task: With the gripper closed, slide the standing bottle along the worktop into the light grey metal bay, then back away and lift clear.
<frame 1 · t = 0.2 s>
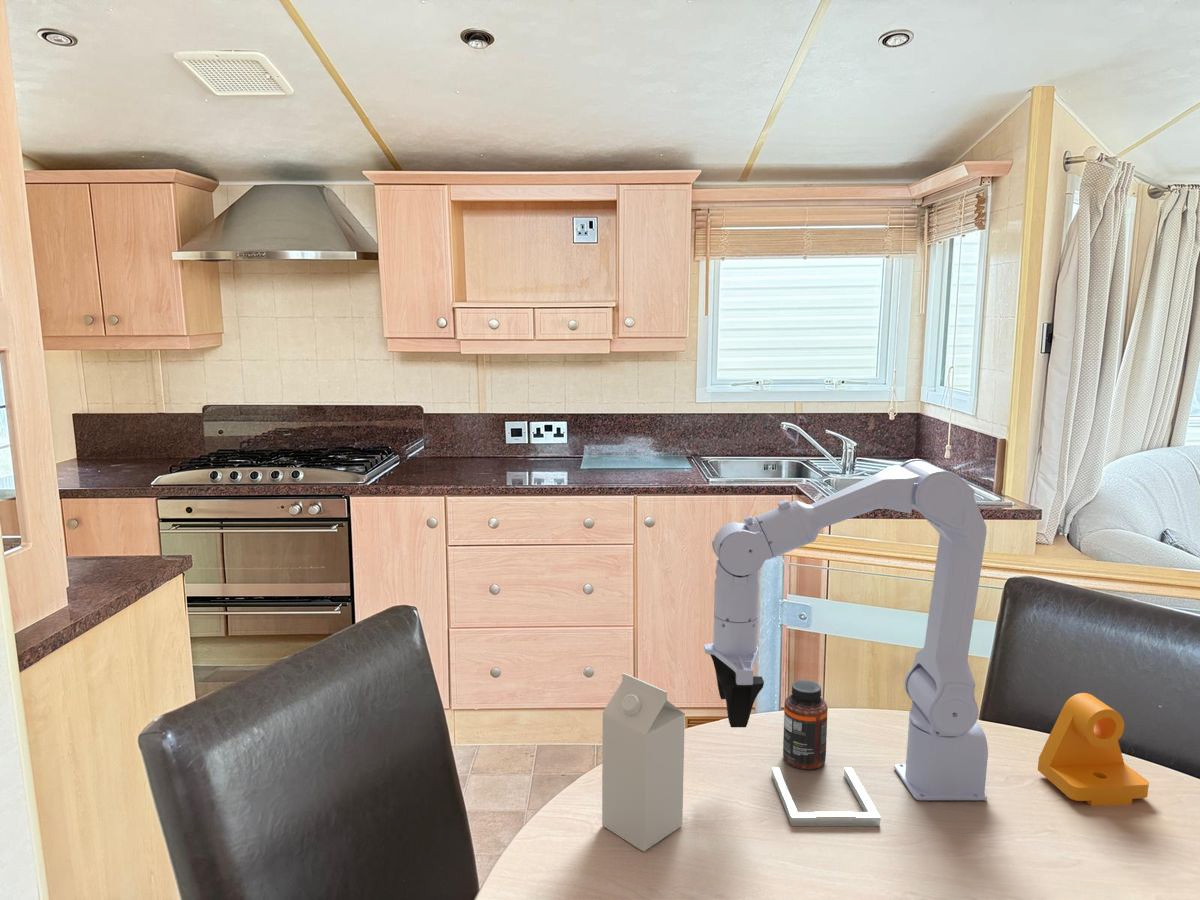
hand: (732, 711, 105), 10 cm above the table, tool pointing down, fingers open, 7 cm apart
bay: (821, 797, 103), on the table
bracket: (1091, 790, 106), on the table
supplement bottle: (803, 761, 112), on the table
milk carton: (642, 828, 97), on the table
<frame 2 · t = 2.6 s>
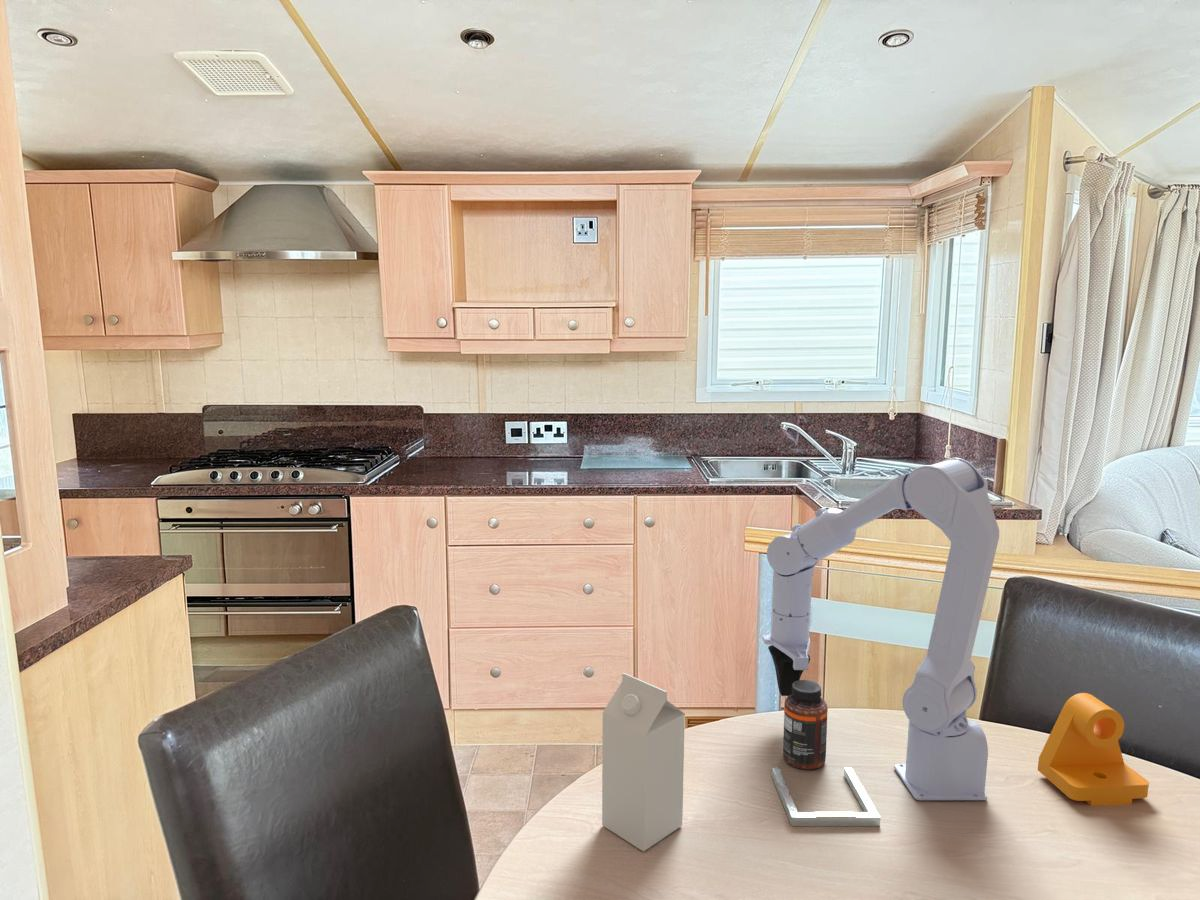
hand: (786, 693, 122), 5 cm above the table, tool pointing down, fingers closed
nothing on the table moved.
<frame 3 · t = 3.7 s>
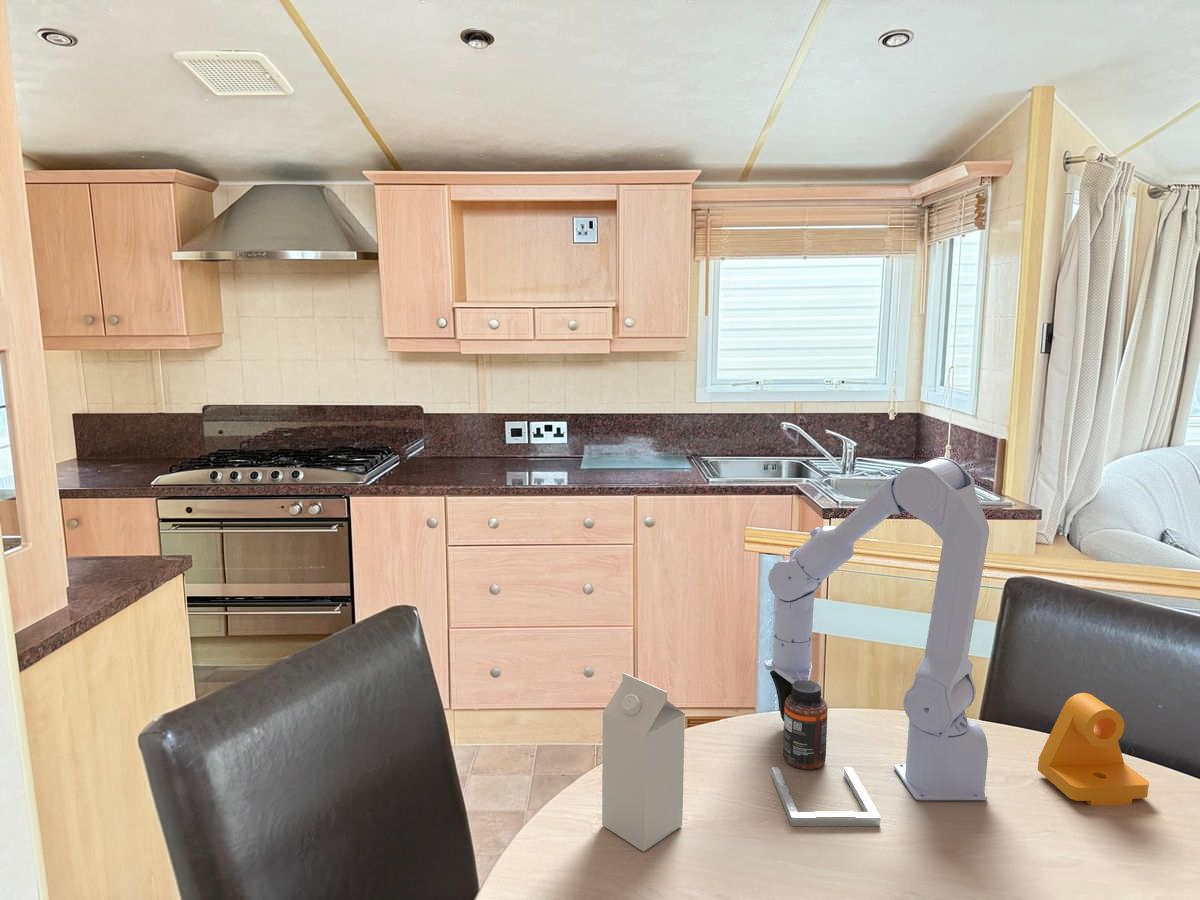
hand: (788, 719, 121), 1 cm above the table, tool pointing down, fingers closed
nothing on the table moved.
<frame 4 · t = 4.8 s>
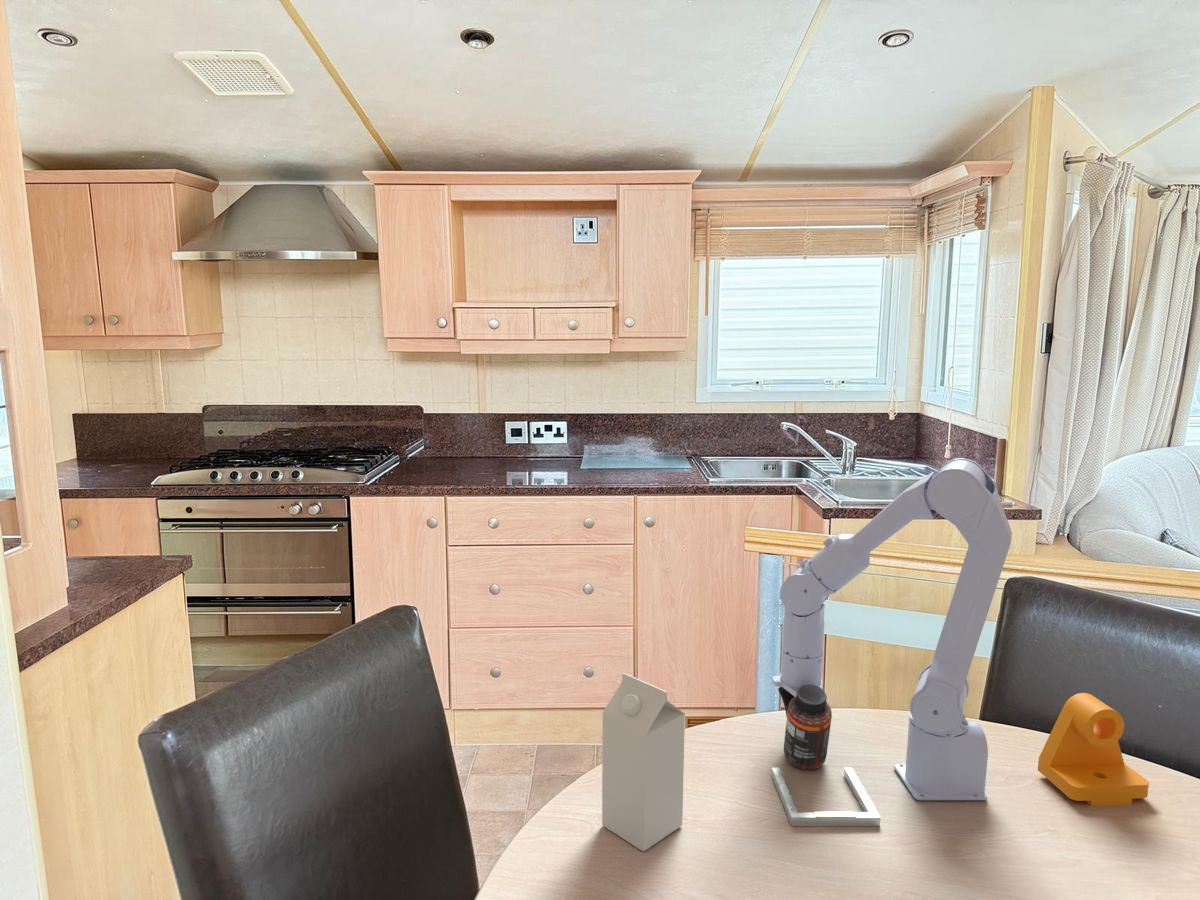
hand: (797, 738, 115), 1 cm above the table, tool pointing down, fingers closed, pressing on supplement bottle
supplement bottle: (803, 756, 112), point 1 cm above the table, touching gripper
everything else where it was.
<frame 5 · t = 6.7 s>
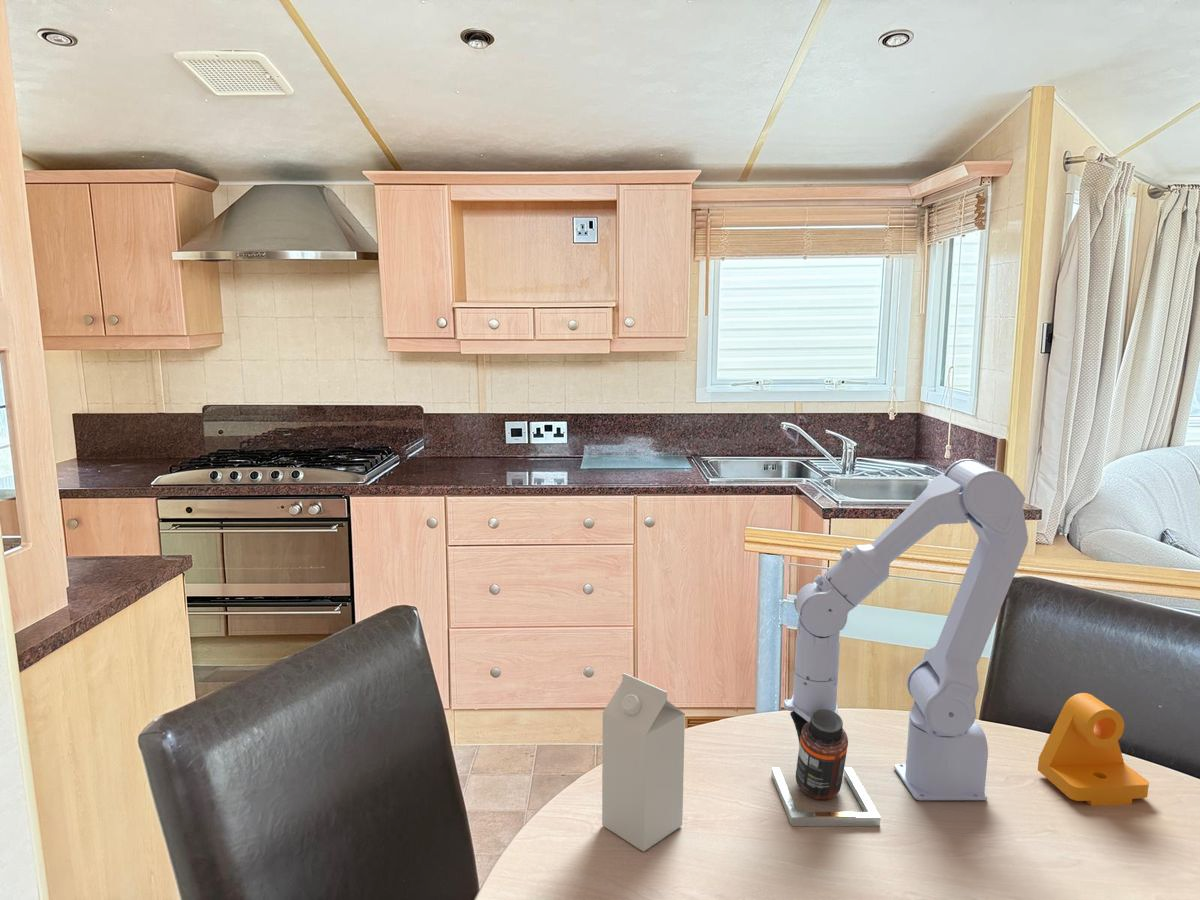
hand: (810, 765, 108), 1 cm above the table, tool pointing down, fingers closed
supplement bottle: (817, 784, 105), point 1 cm above the table, touching gripper
everything else where it was.
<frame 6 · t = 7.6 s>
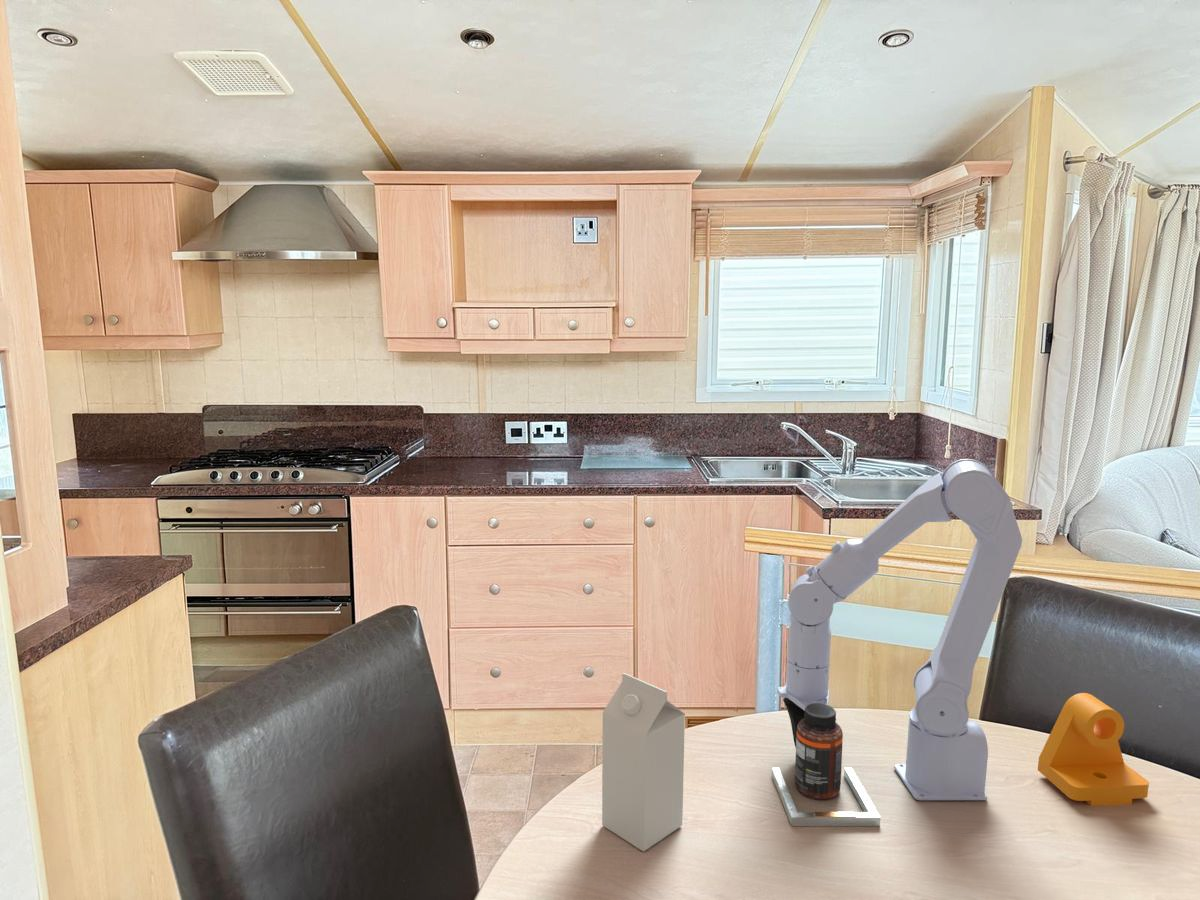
hand: (803, 750, 112), 1 cm above the table, tool pointing down, fingers closed
supplement bottle: (816, 789, 105), on the table
everything else where it was.
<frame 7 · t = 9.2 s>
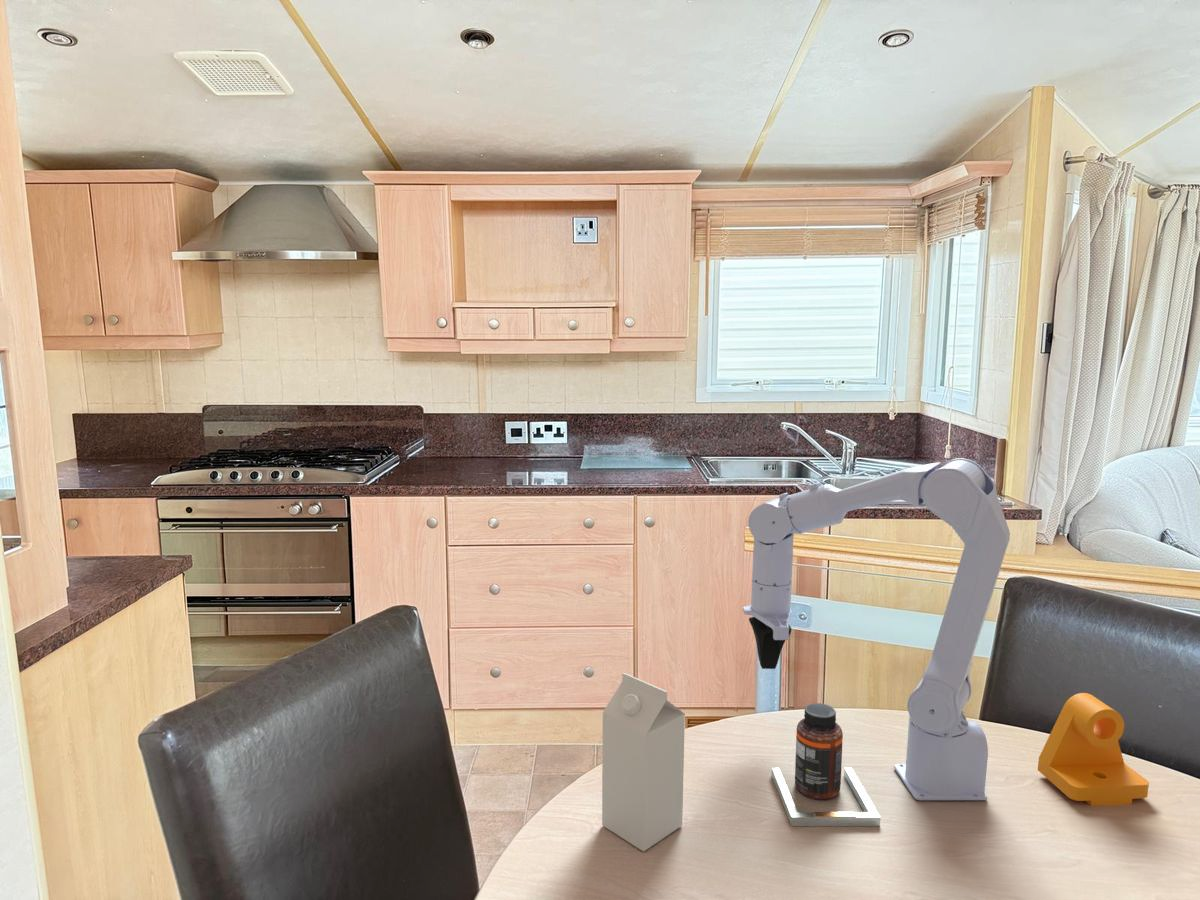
hand: (767, 666, 118), 11 cm above the table, tool pointing down, fingers closed
nothing on the table moved.
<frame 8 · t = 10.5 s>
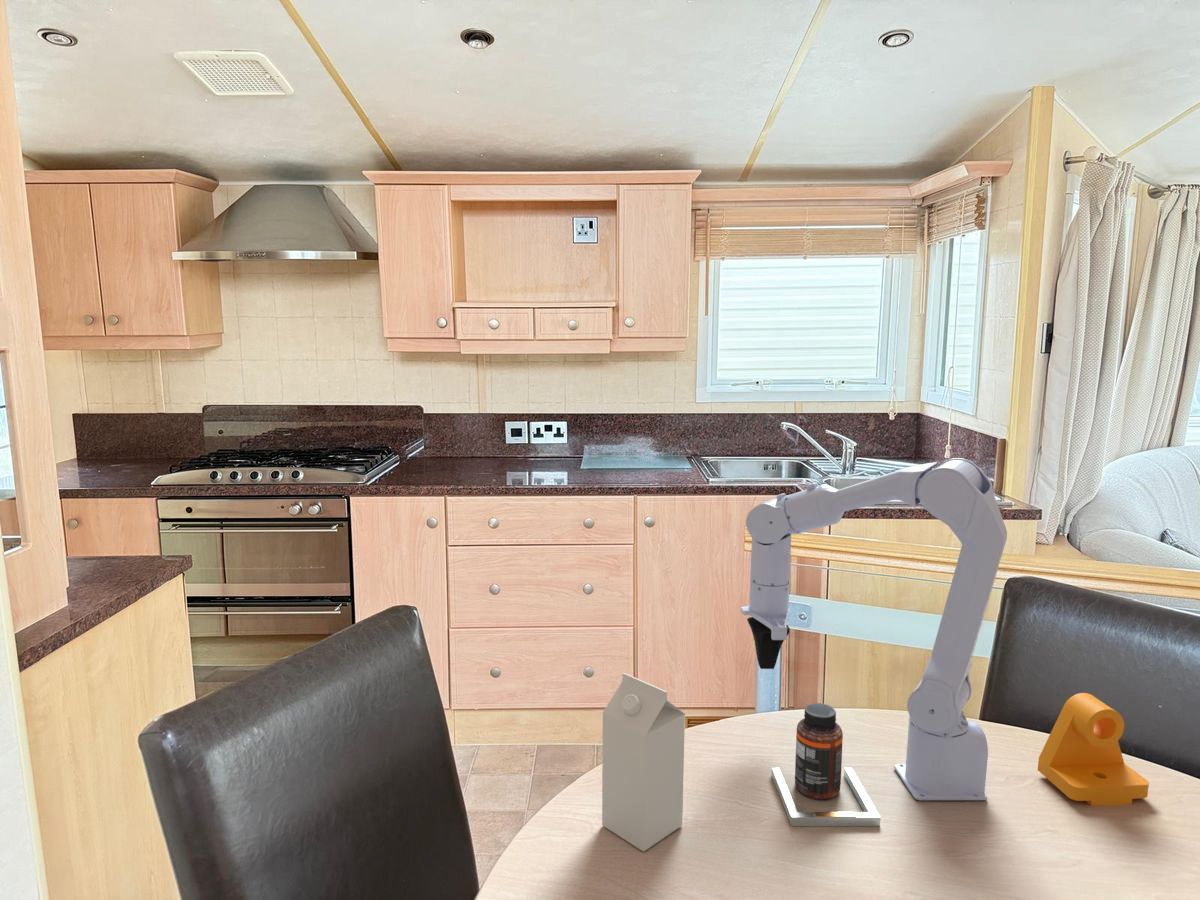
hand: (766, 667, 118), 10 cm above the table, tool pointing down, fingers closed
nothing on the table moved.
at the end: supplement bottle 2.0 cm off-centre on the bay, point 0.0 cm above the bay's base; supplement bottle tilted 0°; the gripper is holding nothing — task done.
